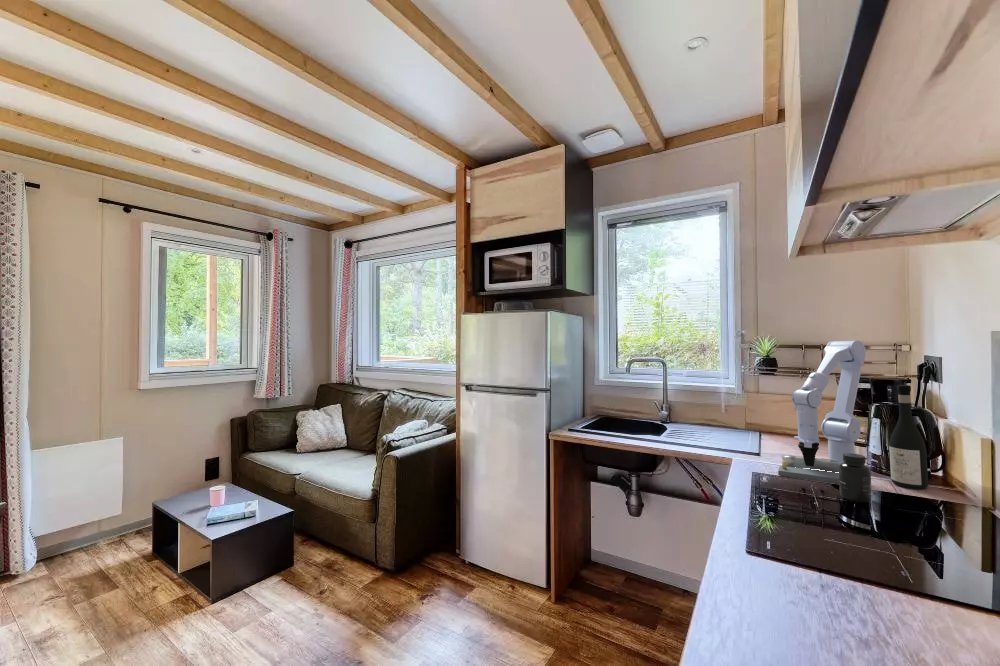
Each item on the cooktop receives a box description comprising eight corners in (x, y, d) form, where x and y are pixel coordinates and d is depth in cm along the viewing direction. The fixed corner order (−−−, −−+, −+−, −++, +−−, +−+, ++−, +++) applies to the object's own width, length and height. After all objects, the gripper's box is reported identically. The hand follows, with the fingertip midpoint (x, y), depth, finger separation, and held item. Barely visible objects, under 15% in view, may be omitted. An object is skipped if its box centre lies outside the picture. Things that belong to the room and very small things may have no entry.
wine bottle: (919, 491, 121) (912, 386, 123) (885, 483, 129) (879, 385, 130) (934, 487, 124) (928, 385, 126) (900, 480, 132) (895, 383, 133)
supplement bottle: (834, 496, 119) (832, 453, 120) (848, 492, 122) (846, 450, 122) (864, 504, 113) (861, 459, 113) (877, 500, 116) (875, 456, 116)
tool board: (780, 470, 145) (779, 458, 145) (864, 481, 132) (863, 468, 132) (778, 475, 140) (777, 462, 140) (866, 487, 126) (865, 473, 126)
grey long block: (783, 464, 151) (782, 454, 151) (838, 470, 142) (838, 460, 142) (782, 467, 147) (781, 456, 148) (839, 474, 138) (838, 463, 138)
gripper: (794, 420, 153) (796, 458, 153) (792, 427, 142) (794, 468, 141) (819, 422, 149) (821, 461, 149) (818, 429, 138) (820, 471, 137)
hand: (809, 464), depth 145 cm, fingers closed on grey long block, 3 cm apart
